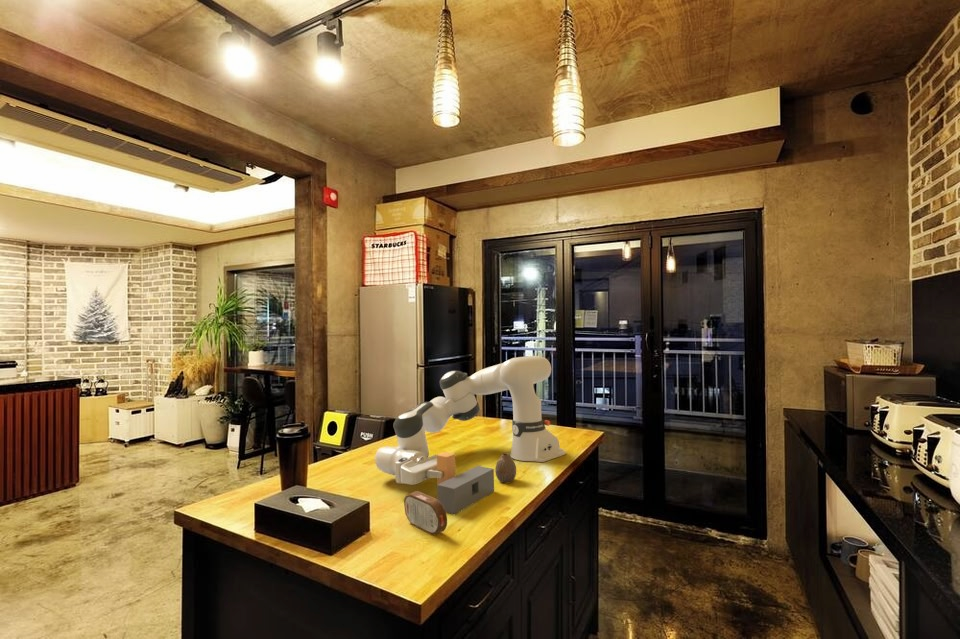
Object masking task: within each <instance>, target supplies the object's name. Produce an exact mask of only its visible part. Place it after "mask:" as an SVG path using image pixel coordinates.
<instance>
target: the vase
mask: <svg viewBox="0 0 960 639" xmlns="http://www.w3.org/2000/svg"><path fill="white" fill-rule="evenodd" d="M494 473H495V476H496V478H497V480H498V481H499V482H500V483H503V484H510V483H512V482H513V481H514V480H515V478H516V475H517V466H516V462H514V460H513V458H511V457H510V453H502V454H501V456H500V457H499V459H498V460H497V462H496V464H495V467H494Z"/></svg>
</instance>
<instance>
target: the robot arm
mask: <svg viewBox="0 0 960 639" xmlns="http://www.w3.org/2000/svg"><path fill="white" fill-rule="evenodd" d="M551 375H552V365H551V363H550V361H549V360H548V359H547V358H546V357H543V356H538V355H528V356H527V355H526V356H518V357H512V358H510V359H507V360H506V361H504V362H502V363H498V364H495V365H492V366H488V367H485V368H483V369H480V370H478V371H476V372H475V373H473V374H471V375H470V376H468V373H467V372H463V371H460V370H451V371H447V372H446V373H445V374H444V375H442V377H441V378H440V380H439V386H440V389H441V390H442V391H443V392H442V393H443V394H444V396H437V397H434V398H432V399H431V400H430V401H423V402H420V403H418V404H416V405H415V406H413V407H411V409H408V411H405V412H403V413H401V414H400V415H398V416H397V417H396V418H395V420H394V422H393V425H392V427H393V429H394V432H395V435H396V439H397V444H398V445H397V446H381V447H379V448H377V451H376V453H375V456H374V461H375V466H376V468H377V469H378V470H379V471H381V472H382V473H385V474H387V475H391V476H394V478H395V483H397V484H405V485H411V486H413V485H417V484H420V483H422V482H424V481H427V480H429V479H434V478H435V479H437V478H442V477H444V471H441V470H439V471H437V455H438V454H434V455H431V456H430V452H429V451H430V450H429V446H428V441H427V436H426V433H428V434H429V433H431V434H435V433H439V432H440V431H442V430H443V429H444V428H445V427H446V425H447V424H448V421H449V420H450V418H451V417H452V419H454V420H458V421H461V422H462V421H463V422H466V421H470V420H472V419H474V418H475V417H476V416H477V415H478V414H479V412H480V411H481V409H480V405H479V402H478V401H477V398H476V396H477V395H478V396H487V395H492V394H496V393H500V392H504V391H509V393H510V396H511V400H512V415H513V416H512V417H513V419H512V422H511V424H512V425H511V426H512V427H511V428H512V429H511V430H512V444H511V450H510V452H509V455H510V457H511V459H512V460H513V459H514V460H516V461H523V462H538V463H544V462H547V461H550V460H553V459H555V458H560V457H562V456H565V455H567V452H566V450H565V449H563V448H562V447H561V448H560V441H559V439H558V437H557V436H555V435H554V433H552V432H550V431H549V430H548V429H546V426H548V427H549V426H550V420H547V419H545V420H544V419H542V400H541V398H540V397H539V395H537V394H536V391H535V388H534V385H535V384H539V383H541V382H543V381H546V380H547V379H548V378H549V377H550V376H551ZM475 395H476V396H475ZM425 432H426V433H425Z"/></svg>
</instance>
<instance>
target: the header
mask: <svg viewBox="0 0 960 639" xmlns="http://www.w3.org/2000/svg"><path fill="white" fill-rule="evenodd" d="M436 489H437V490H436V493H437V494H436V495H437V496H436V499H437V500H438V501H439V502H440V503H441V504H442V505H443V507H444V509H445V512H446V514H447V513H448V514H450V515H454V514H455V515H457V514H458V513H460V512H461V510H462V511H463V510H465V509H467V508H468V507H470V506H472V505H473V504H475V503H477V502H479V501H481V500H482V499H484V498H485V497H487V496H489V495H491V494H492V493H494V492H495V468H492V467H487V466H481V465H476V466H474V467H472V468H470V469H468V470H466V471H464V472H462V473H459V474H457V475H456V476H455V477H453V478H451V479H448V480H446V481H444V482H442V483H440V484H438V485H436ZM459 511H460V512H459ZM457 512H458V513H457Z"/></svg>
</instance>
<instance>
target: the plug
mask: <svg viewBox="0 0 960 639" xmlns="http://www.w3.org/2000/svg"><path fill="white" fill-rule="evenodd" d="M436 455H437V454H436ZM439 470H441V471H444V477H442V478H436V482H437V483H436V484H437V485H438V484H440V483H442V482H444V481H446V480H448V479H451V478H453V477H455V476H457V475H456V454H455V453H454V452H448V451H444V452H441V453H439V454H438V455H437V471H439ZM437 485H436V486H437Z"/></svg>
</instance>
